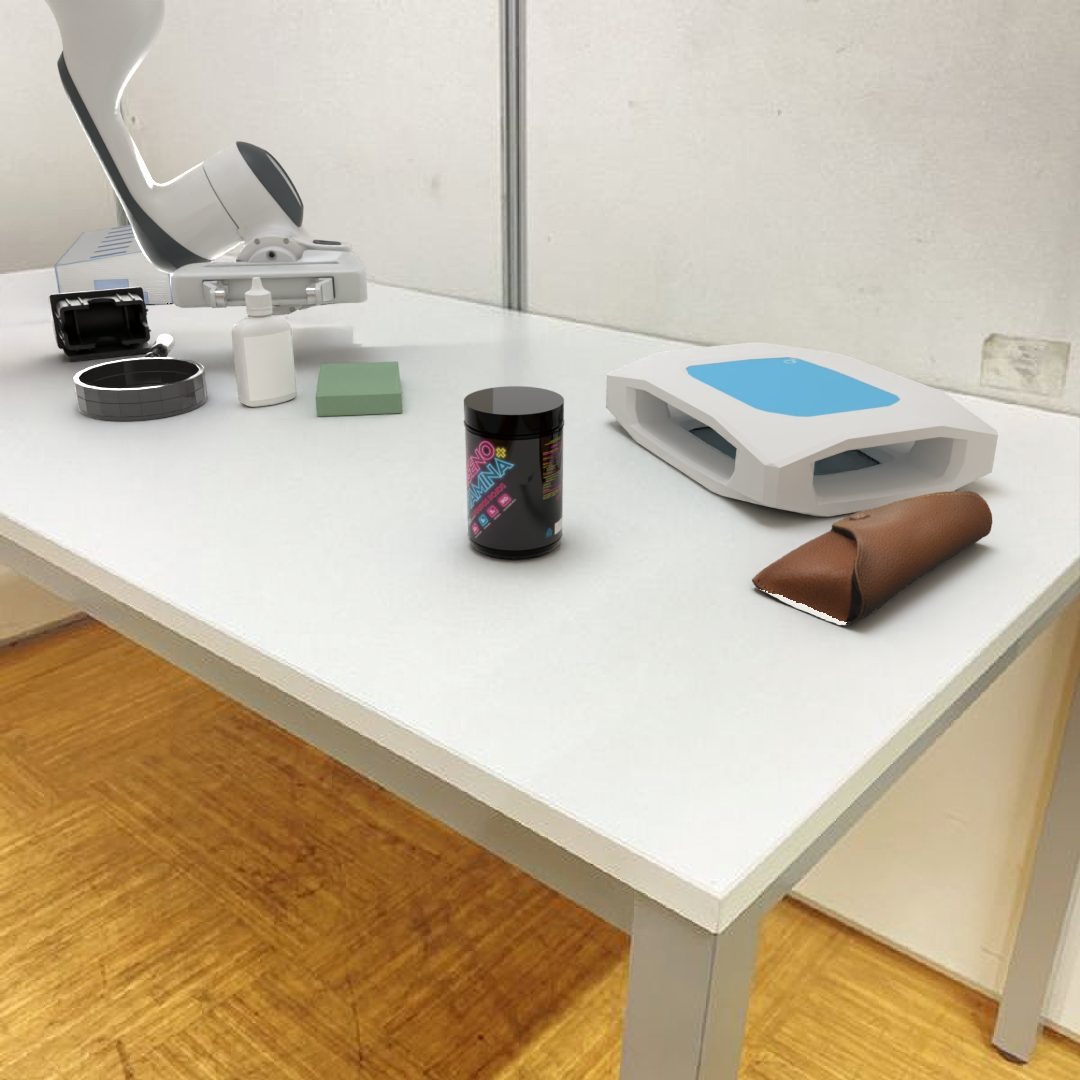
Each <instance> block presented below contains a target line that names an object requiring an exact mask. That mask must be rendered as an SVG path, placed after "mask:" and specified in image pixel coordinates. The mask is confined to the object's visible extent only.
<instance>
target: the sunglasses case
mask: <svg viewBox="0 0 1080 1080" xmlns="http://www.w3.org/2000/svg"><path fill="white" fill-rule="evenodd" d="M992 526H993V514H992V511H991V509H990V506H989V504H988V502H987V501H986V500H985V498H983V497H982V496H981V495H980V494H978V493H977V492H975V491H971V490H960V491H958V490H954V491H950V492H938V493H931V494H926V495H920V496H916V497H911V498H907V499H903V500H899V501H895V502H892V503H889V504H886V505H883V506H879V507H876V508H872V509H867V510H864V511H858V512H854V513H853V514H849V515H848V516H845V517H844V518H842V519H840V520H838V521H835V522H834V523H832V524H831V529H830V530H829V531H826V532H825V533H823V534H820V535H819V536H816V537H815V538H812V539H810V540H809V541H807V542H805V543H803V544H802V545H800V546H798V547H797V548H795V549H792V550H791V551H789V552H788V553H786V554H785V555H783V556H782V557H780V558H777V560H775V561H774V562H772V563H770V564H769V565H767V566H766V567H764V568H763V569H762V570H760V571H759V572H758V573H756V575H755V576H754V577H753V578H751V582H752V584H753V585H754V586H755V587H756V589H758V590H759V589H761V590H765V592H766V591H768V593H772V594H779V595H783V597H786V598H788V599H790V600H793V601H796V603H802V604H805V605H807V606H808V607H811V608H813V609H814V610H817V611H819V612H823V613H826V614H827V615H829V616H832V618H836V619H838V620H839V621H844V622H847V623H846V624H847V625H846V626H852V625H853V624H855V623H856V622H858V621H859V620H861V619H862V618H866V617H868V616H870V615H871V614H873V613H874V612H875V611H877V610H878V609H879V608H881V607H882V606H884V605H885V604H886V603H887V602H889V600H891V599H892V598H894V597H895V596H897V595H898V594H899V593H900V592H901V591H903V590H905V589H906V588H908V587H909V586H910V585H912V584H913V583H914V582H915V581H916V580H917V579H919V578H921V577H923V576H924V575H926V574H927V573H929V572H931V571H933V570H935V568H937V567H938V566H940V565H941V564H943V563H944V562H946V561H947V560H948V559H950V558H953V557H954V556H956V555H957V554H960V553H961V552H962V551H964V550H965V549H967V548H969V547H970V546H972V545H974V544H975V543H977V542H979V541H980V540H982V539H983V538H985V537H987V536H988V535H989V534H990V533H991V531H992ZM761 590H760V591H761ZM765 592H764V593H765Z"/></svg>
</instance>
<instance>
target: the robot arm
mask: <svg viewBox="0 0 1080 1080" xmlns="http://www.w3.org/2000/svg"><path fill="white" fill-rule="evenodd" d="M44 2H45V3H46V4H47V6H48V7H49V9H50V12H51V13H52V15H53V17H54V19H55V22H56V24H57V26H58V30H59V33H60V38H61V44H62V45H61V46H62V51H61V54H60V55H59V57H58V60H57V62H56V63H57V64H56V65H57V70H58V74H59V78H60V82H61V85H62V87H63V89H64V92H65V94H66V96H67V99H68V101H69V103H70V105H71V107H72V110H73V112H74V114H75V116H76V118H77V120H78V122H79V124H80V126H81V128H82V130H83V132H84V134H85V136H86V138H87V140H88V142H89V144H90V146H91V147H92V150H93V151H94V153H95V155H96V158H97V159H98V161H99V163H100V165H101V168H102V169H103V171H104V173H105V175H106V177H107V179H108V181H109V182H110V184H111V187H112V189H113V190H114V193H115V194H116V196H117V198H118V200H119V202H120V204H121V207H122V209H123V210H124V212H125V215H126V217H127V220H128V221H129V225H131V226H132V229H133V232H134V235H135V237H136V240H137V242H138V244H139V246H140V248H141V250H142V252H143V253H144V255H145V256H146V257H147V259H148V260H149V261H150V262H151V263H152V264H153V265H154V267H155V268H156V269H158V270H160V271H163V272H166V273H170V274H171V276H170V282H171V291H172V297H173V302H174V304H173V305H174V306H175V307H178V308H181V309H194V308H198V309H199V308H211V309H222V308H228V307H229V308H230V307H231V308H232V307H246V302H245V293H246V292H248V291H249V290H250V289H251V288H252V278H254V277H260V279H261V283H262V286H263V288H264V289H265V290H267V291H270V292H271V300H272V311H273V313H271V314H272V315H275V316H286V315H289V314H292V313H295V312H297V311H303V310H307V309H310V308H313V307H318V306H327V305H335V304H337V305H338V304H360V303H365V302H367V301H368V282H367V271H366V265H365V262H364V261H363V259H362V258H361V256H359V255H358V254H356V253H354V250H353V246H352V244H351V243H349V242H343V241H342V242H341V241H335V240H323V239H314V237H313V236H312V234H311V233H310V231H309V230H308V229H307V228H306V227H305V225H304V224H303V220H304V203H303V200H302V198H301V196H300V193H299V191H298V190H297V188H296V186H295V184H294V182H293V181H292V179H291V177H290V175H288V172H286V170H285V169H284V167H283V166H282V165H281V163H280V162H279V161H278V159H276V158H275V157H274V156H273V154H271V153H270V152H269V151H268V150H266V149H264V148H262V147H260V146H257V145H255V144H252V143H249V142H247V141H239V140H237V141H235V142H234V143H232V144H231V145H228V146H227V147H224V148H223V149H221V150H219V151H218V152H216V153H215V154H213V155H211V156H210V157H208V158H206V159H204V160H203V161H202V162H200V163H199V164H197V165H196V166H193V167H192V168H190V169H189V170H187V171H185V172H184V173H182V174H180V175H178V176H177V177H175V178H174V179H172V180H170V181H167V182H165V183H157V182H155V181H154V180H153V178H152V176H151V174H150V172H149V170H148V168H147V166H146V164H145V162H144V160H143V158H142V155H141V153H140V151H139V149H138V147H137V145H136V144H135V141H134V140H133V138H132V136H131V134H130V132H129V130H128V128H127V126H126V123H125V121H124V119H123V116H122V111H121V101H122V97H123V93H124V91H125V88H126V87H127V85H128V83H129V82H130V80H131V79H132V77H133V76H134V74H135V73H136V71H137V70H138V69H139V67H140V65H142V63H143V61H144V60H145V59H146V57H147V56H148V54H150V51H151V50H152V49H153V47H154V45H155V43H156V41H157V39H158V37H159V35H160V33H161V30H162V27H163V23H164V20H165V12H166V11H165V10H166V3H165V0H44ZM243 243H244V244H243ZM241 244H243V246H242V248H241V250H240V251H239V253H238V255H237V257H236V259H235V261H220V262H219V261H215V260H217V259H216V258H218V257H220V256H223V255H224V254H226V253H227V252H229V251H230V250H232V249H234V248H236V247H238V246H239V245H241Z"/></svg>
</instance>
